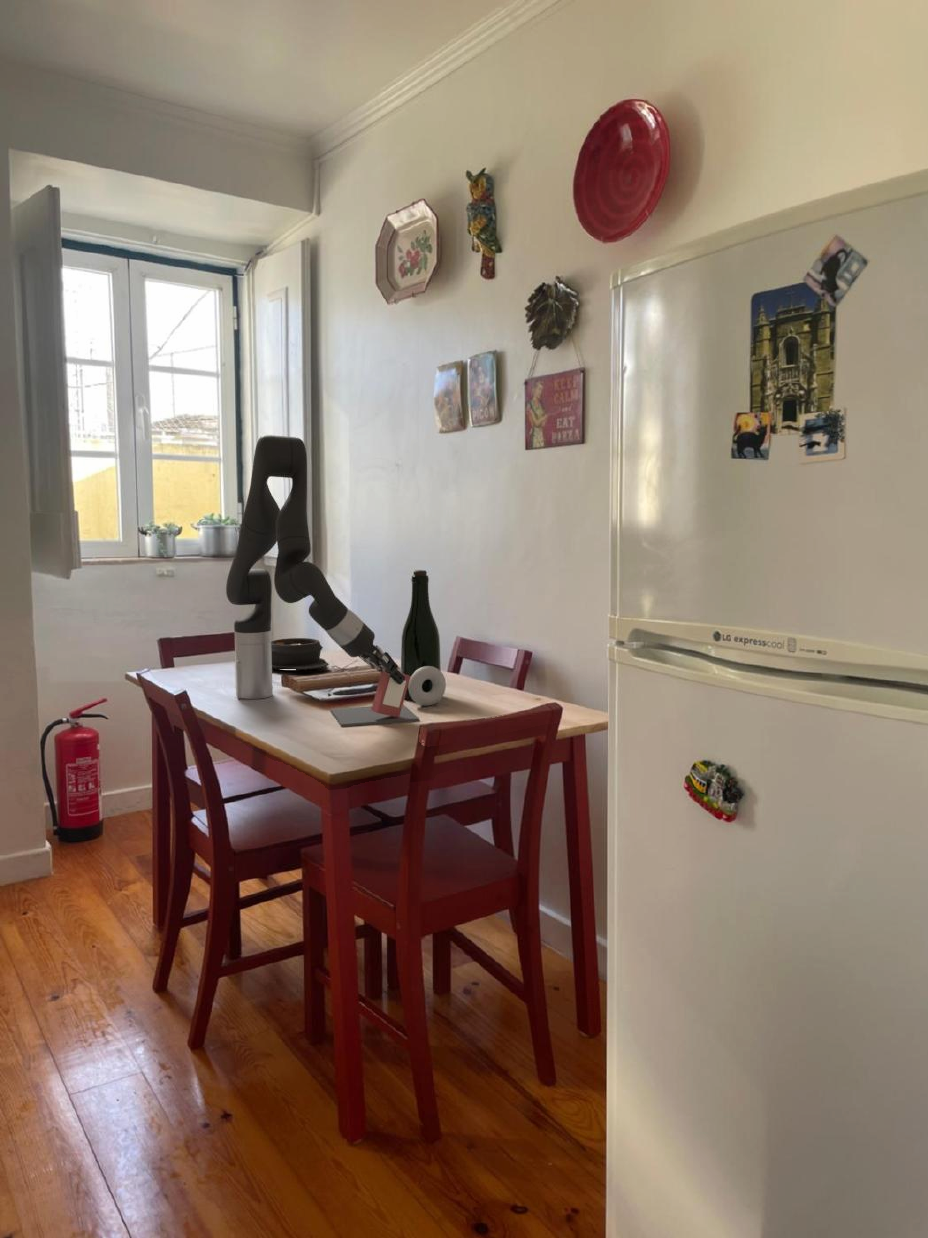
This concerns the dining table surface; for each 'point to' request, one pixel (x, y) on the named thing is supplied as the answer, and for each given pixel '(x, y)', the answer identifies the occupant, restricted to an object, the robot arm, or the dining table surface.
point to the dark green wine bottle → (420, 633)
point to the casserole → (297, 654)
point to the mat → (369, 716)
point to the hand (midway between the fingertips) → (397, 679)
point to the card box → (390, 695)
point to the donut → (418, 680)
